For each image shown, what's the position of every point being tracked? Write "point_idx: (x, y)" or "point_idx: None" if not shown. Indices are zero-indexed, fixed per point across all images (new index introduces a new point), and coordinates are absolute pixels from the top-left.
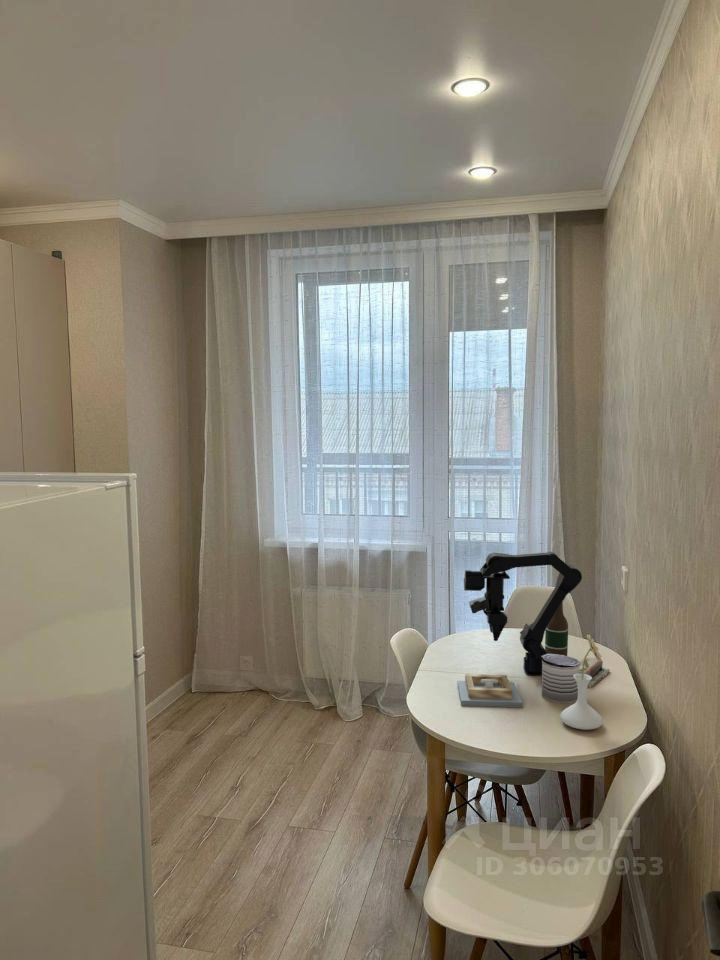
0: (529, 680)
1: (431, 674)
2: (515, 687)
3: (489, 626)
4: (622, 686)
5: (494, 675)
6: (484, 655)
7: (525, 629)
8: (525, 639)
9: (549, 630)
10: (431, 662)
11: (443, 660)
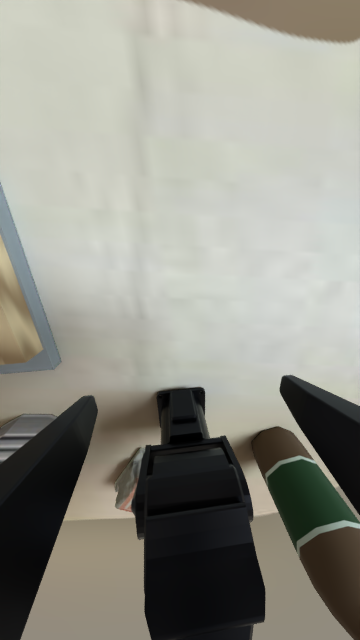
0: (122, 394)
1: (89, 28)
2: (11, 370)
3: (337, 396)
4: (132, 512)
5: (1, 324)
6: (309, 294)
7: (210, 575)
8: (145, 520)
9: (316, 531)
10: (254, 42)
11: (276, 121)
